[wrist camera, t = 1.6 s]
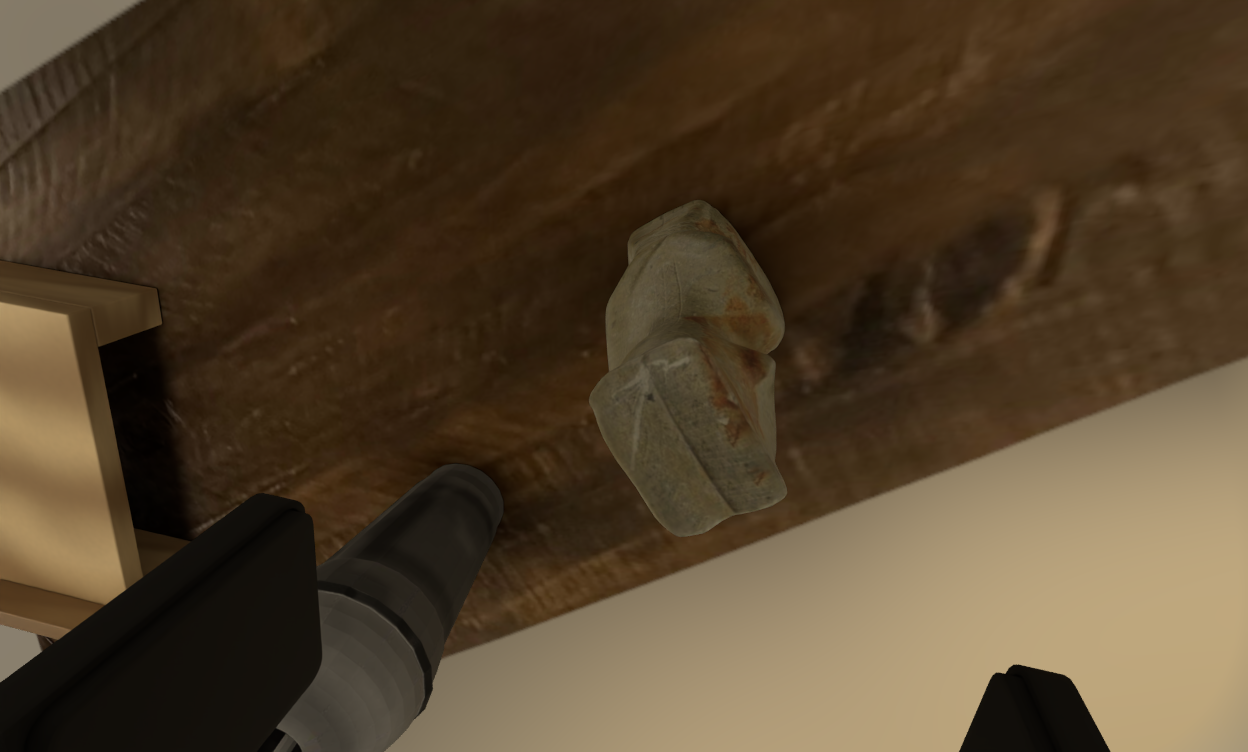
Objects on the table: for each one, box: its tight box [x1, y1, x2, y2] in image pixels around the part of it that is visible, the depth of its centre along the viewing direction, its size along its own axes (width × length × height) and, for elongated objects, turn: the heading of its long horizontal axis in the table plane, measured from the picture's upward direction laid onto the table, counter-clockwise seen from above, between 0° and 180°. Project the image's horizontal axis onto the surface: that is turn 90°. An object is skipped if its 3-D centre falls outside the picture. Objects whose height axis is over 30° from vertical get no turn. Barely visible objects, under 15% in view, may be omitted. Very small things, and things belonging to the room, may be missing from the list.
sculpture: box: [589, 200, 787, 537], centre depth 23 cm, size 6×7×15 cm
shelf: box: [0, 260, 191, 640], centre depth 36 cm, size 18×10×7 cm, turn 173°
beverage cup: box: [257, 463, 503, 752], centre depth 27 cm, size 7×7×20 cm
